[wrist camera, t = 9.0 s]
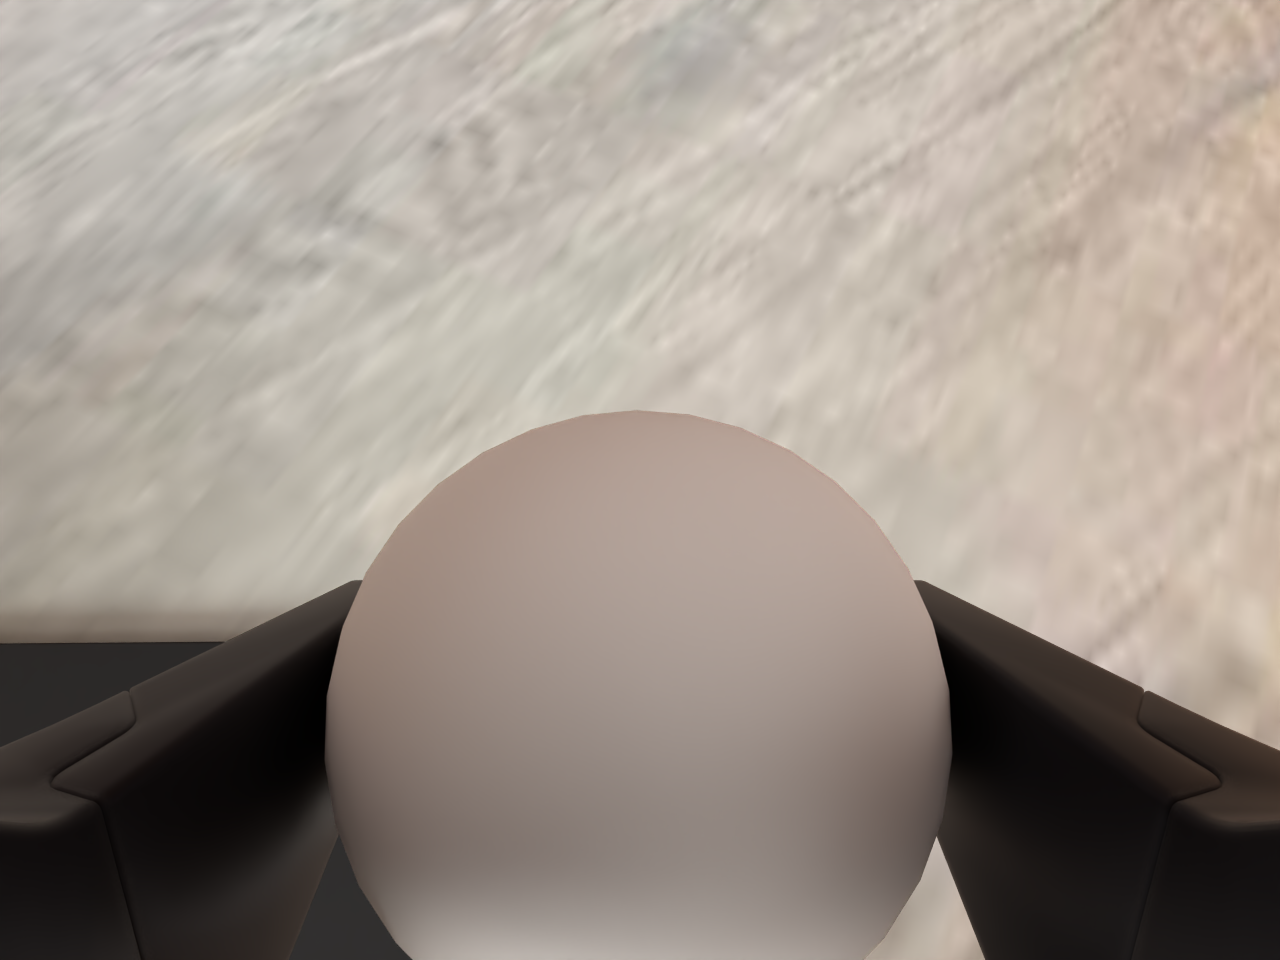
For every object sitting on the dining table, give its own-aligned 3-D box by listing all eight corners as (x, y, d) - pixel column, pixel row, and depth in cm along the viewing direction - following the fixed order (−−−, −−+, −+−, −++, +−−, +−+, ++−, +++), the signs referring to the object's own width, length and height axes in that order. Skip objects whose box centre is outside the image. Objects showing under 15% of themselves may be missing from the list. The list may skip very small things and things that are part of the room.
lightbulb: (679, 564, 18) (726, 175, 8) (875, 833, 16) (1258, 750, 6) (411, 740, 17) (77, 530, 7) (589, 1058, 15) (485, 1418, 5)
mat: (536, 1312, 19) (533, 1323, 18) (-432, 1320, 19) (-459, 1332, 18) (555, 642, 24) (553, 638, 24) (-193, 649, 24) (-209, 644, 24)
